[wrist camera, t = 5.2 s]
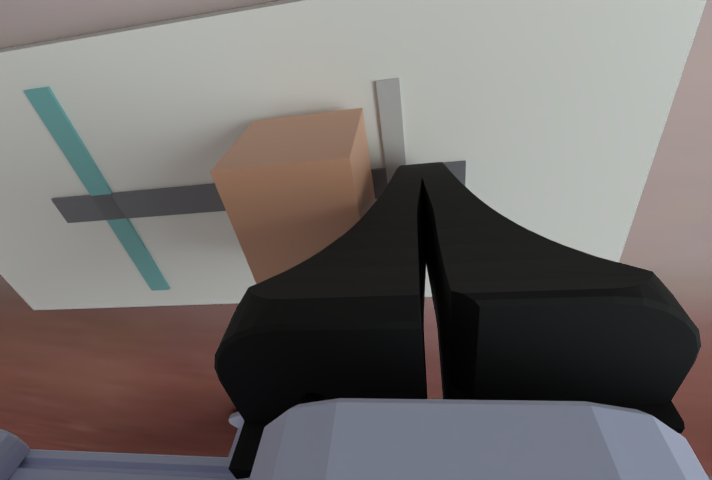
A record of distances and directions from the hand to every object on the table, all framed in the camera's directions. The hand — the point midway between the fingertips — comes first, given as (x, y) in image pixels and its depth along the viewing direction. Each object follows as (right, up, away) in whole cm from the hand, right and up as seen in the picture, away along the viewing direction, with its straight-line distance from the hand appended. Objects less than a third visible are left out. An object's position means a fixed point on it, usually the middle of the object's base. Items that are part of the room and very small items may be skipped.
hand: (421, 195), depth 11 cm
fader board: (-5, +1, +3) cm, 6 cm away
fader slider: (-3, 0, +1) cm, 3 cm away
